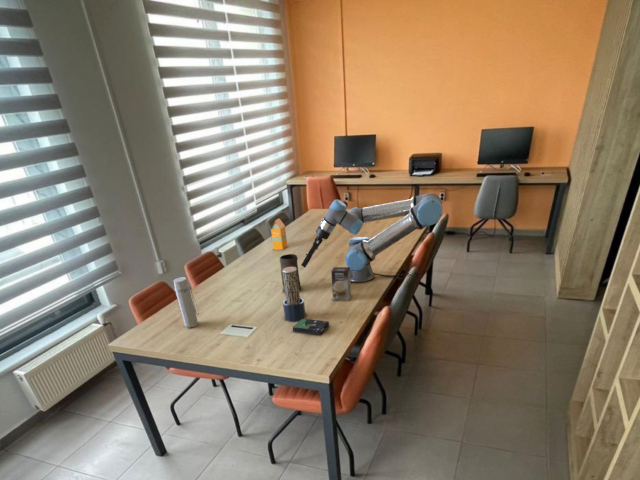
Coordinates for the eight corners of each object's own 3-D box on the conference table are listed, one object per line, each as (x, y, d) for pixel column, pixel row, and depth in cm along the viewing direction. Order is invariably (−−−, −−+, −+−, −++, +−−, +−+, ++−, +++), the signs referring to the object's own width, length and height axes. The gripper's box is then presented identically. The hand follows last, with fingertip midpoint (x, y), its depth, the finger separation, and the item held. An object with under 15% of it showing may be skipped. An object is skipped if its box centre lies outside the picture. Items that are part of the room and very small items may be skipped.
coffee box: (332, 300, 243) (330, 271, 234) (335, 295, 248) (333, 266, 238) (348, 300, 240) (347, 271, 231) (351, 295, 245) (350, 266, 235)
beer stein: (299, 293, 256) (296, 257, 246) (281, 294, 259) (277, 258, 248) (304, 285, 269) (301, 250, 258) (286, 286, 271) (283, 252, 261)
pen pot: (307, 312, 234) (305, 297, 229) (303, 321, 226) (301, 305, 221) (287, 312, 237) (285, 297, 232) (283, 321, 229) (280, 305, 224)
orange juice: (273, 249, 332) (269, 221, 320) (278, 245, 338) (274, 217, 327) (283, 249, 329) (279, 221, 318) (287, 245, 336) (284, 217, 324)
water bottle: (187, 329, 235) (174, 283, 220) (183, 324, 240) (170, 279, 226) (203, 324, 237) (192, 278, 223) (199, 319, 243) (187, 274, 229)
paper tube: (288, 315, 234) (282, 267, 220) (301, 313, 234) (295, 265, 220) (289, 320, 229) (283, 272, 214) (302, 318, 229) (297, 270, 214)
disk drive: (329, 326, 218) (302, 322, 225) (329, 321, 216) (301, 317, 223) (320, 336, 211) (292, 332, 217) (319, 330, 209) (291, 326, 216)
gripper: (323, 218, 249) (304, 251, 262) (315, 231, 229) (295, 266, 242) (334, 226, 250) (315, 258, 263) (327, 239, 230) (306, 273, 243)
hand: (305, 262), depth 253 cm, fingers open, 13 cm apart
